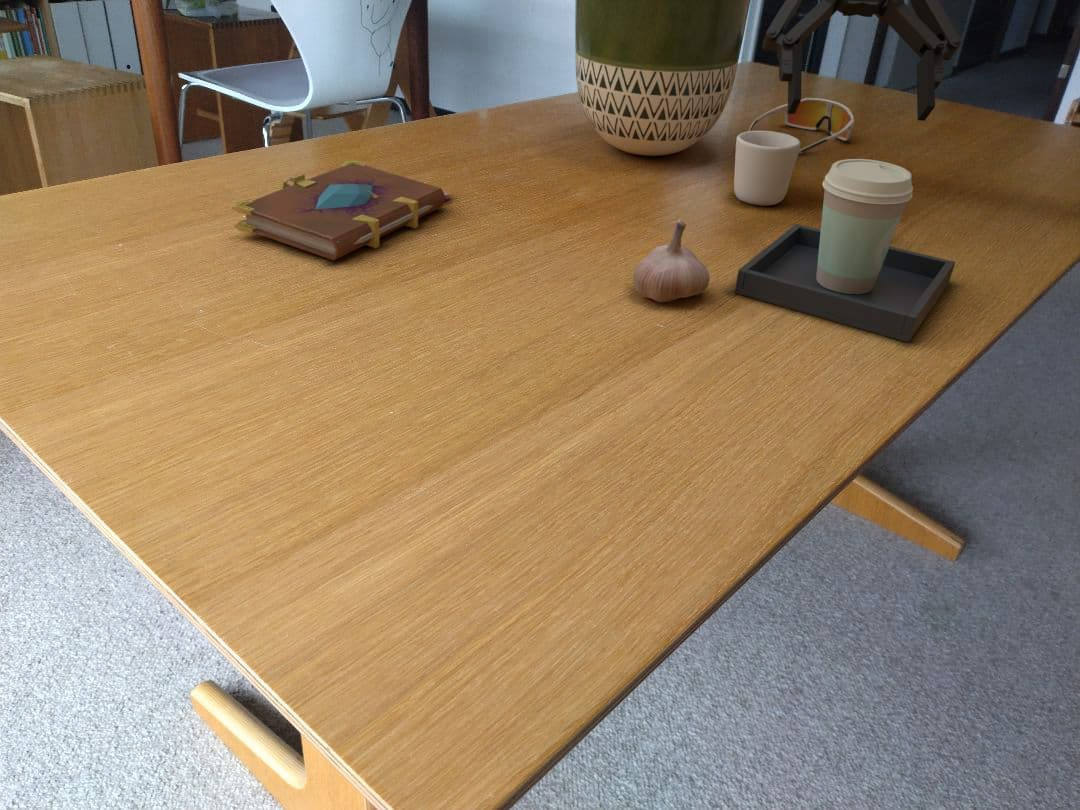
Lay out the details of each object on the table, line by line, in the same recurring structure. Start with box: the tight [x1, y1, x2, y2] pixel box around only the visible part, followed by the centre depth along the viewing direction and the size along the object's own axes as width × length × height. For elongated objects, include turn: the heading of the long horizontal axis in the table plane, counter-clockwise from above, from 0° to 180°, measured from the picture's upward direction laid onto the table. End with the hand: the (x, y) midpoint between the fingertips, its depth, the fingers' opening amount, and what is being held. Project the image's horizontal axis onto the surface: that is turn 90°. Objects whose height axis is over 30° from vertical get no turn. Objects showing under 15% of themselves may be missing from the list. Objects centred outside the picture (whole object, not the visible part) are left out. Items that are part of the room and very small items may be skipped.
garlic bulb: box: [632, 219, 710, 303], centre depth 87 cm, size 8×7×8 cm
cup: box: [733, 130, 802, 207], centre depth 114 cm, size 11×8×8 cm
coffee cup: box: [816, 158, 914, 294], centre depth 89 cm, size 8×8×12 cm
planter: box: [574, 0, 751, 157], centre depth 125 cm, size 24×24×27 cm
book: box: [231, 159, 453, 261], centre depth 104 cm, size 16×25×5 cm, turn 151°
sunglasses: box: [748, 97, 855, 154], centre depth 140 cm, size 14×15×5 cm
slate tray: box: [734, 223, 956, 343], centre depth 91 cm, size 18×17×3 cm
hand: (859, 110), depth 92 cm, fingers open, 13 cm apart
